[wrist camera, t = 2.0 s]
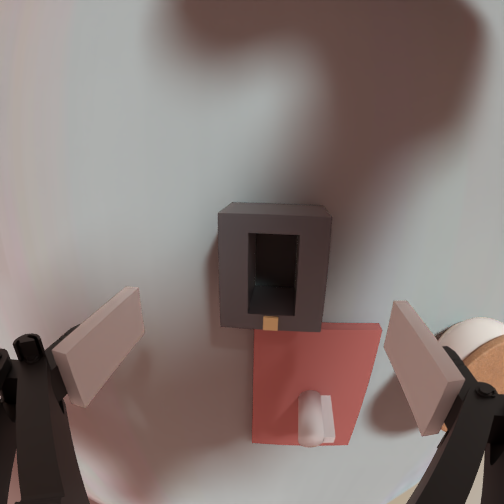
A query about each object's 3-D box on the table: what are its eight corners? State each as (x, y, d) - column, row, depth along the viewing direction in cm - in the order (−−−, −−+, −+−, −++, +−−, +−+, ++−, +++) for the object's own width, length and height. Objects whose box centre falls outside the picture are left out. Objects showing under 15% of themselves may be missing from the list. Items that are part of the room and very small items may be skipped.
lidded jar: (409, 397, 27) (433, 460, 19) (413, 315, 25) (454, 377, 16) (488, 369, 26) (523, 420, 17) (501, 288, 23) (555, 331, 14)
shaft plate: (255, 319, 26) (245, 365, 20) (378, 323, 25) (399, 368, 19) (253, 435, 31) (245, 480, 25) (346, 437, 30) (352, 481, 24)
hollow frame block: (232, 202, 24) (217, 213, 19) (323, 205, 23) (332, 217, 18) (232, 297, 26) (220, 327, 21) (315, 301, 25) (320, 333, 20)
